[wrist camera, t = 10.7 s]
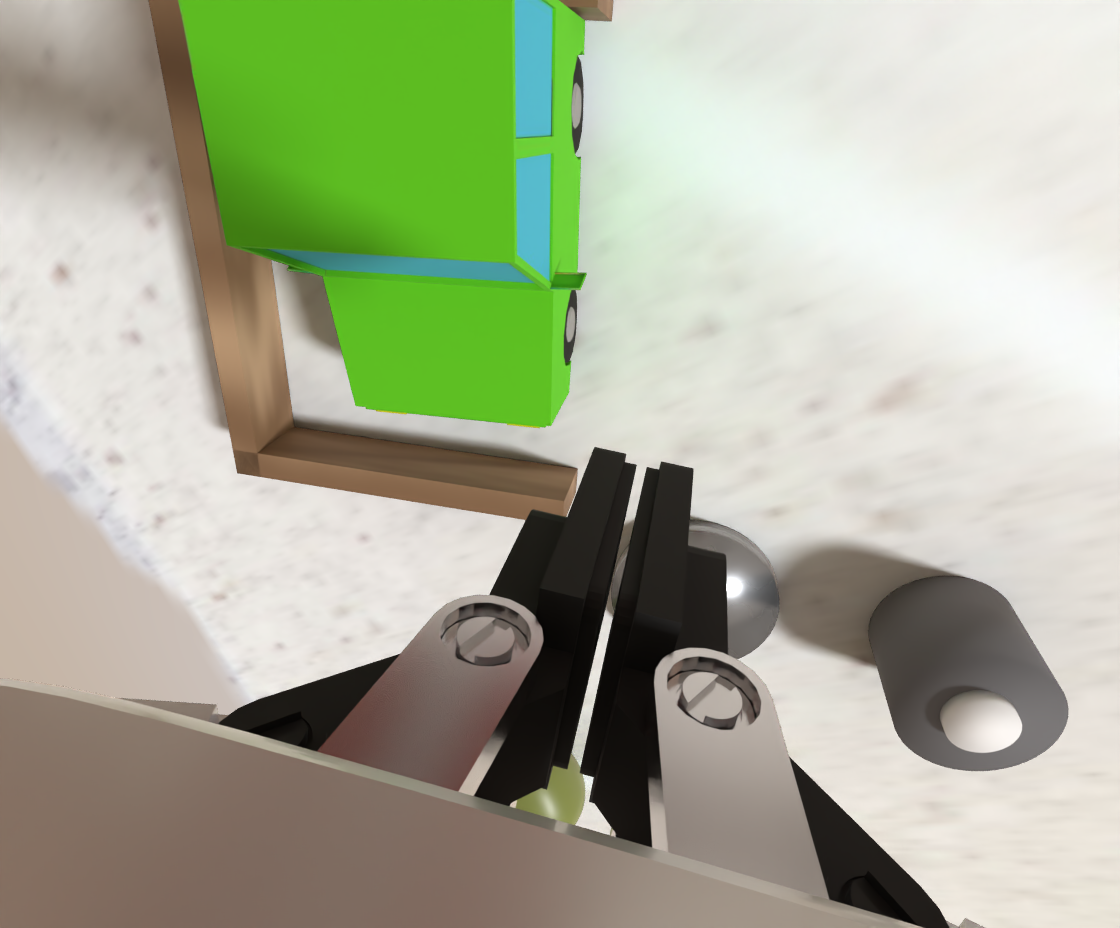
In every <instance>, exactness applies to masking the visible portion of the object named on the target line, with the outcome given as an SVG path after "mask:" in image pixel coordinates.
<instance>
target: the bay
mask: <svg viewBox="0 0 1120 928" xmlns="http://www.w3.org/2000/svg"><path fill="white" fill-rule="evenodd" d="M559 1H560V2H562V3H563V4H564V5H566V6H567V7H568V8H569V9H571V10H572V11H573V12H575V13H576V14H577V15H578V16H580V17H581V18H582V19H584V20H593V21H612V11H613V0H559ZM149 5H150V10H151V16H152V21H153V26H154V32H155V37H156V42H157V48H158V53H159V58H160V64H161V69H162V74H163V80H164V85H165V90H166V96H167V101H168V106H169V112H170V117H171V122H172V128H173V133H174V138H175V144H176V149H177V154H178V160H179V165H180V170H181V176H182V181H183V186H184V192H185V197H186V202H187V208H188V213H189V218H190V224H191V229H192V234H193V240H194V245H195V250H196V256H197V261H198V266H199V272H200V277H201V282H202V288H203V293H204V298H205V304H206V309H207V314H208V320H209V325H210V330H211V336H212V341H213V346H214V352H215V357H216V362H217V368H218V373H219V378H220V384H221V389H222V394H223V400H224V405H225V410H226V416H227V421H228V426H229V432H230V437H231V442H232V448H233V453H234V458H235V464H236V469H237V473H240V474H246V475H252V476H258V477H264V478H270V479H277V480H283V481H289V482H295V483H301V484H308V485H314V486H320V487H326V488H332V489H338V490H345V491H351V492H357V493H363V494H369V495H375V496H382V497H388V498H394V499H400V500H406V501H412V502H419V503H425V504H431V505H437V506H443V507H450V508H456V509H462V510H468V511H474V512H480V513H487V514H493V515H499V516H505V517H511V518H517V519H524V520H526V519H527V517H528V515H529V513H530V512H531V510H533V509H535V510H539V511H543V512H547V513H552V514H556V515H560V516H565V517H566V516H567V513H568V511H569V508H570V505H571V503H572V500H573V498H574V495H575V493H576V483H577V470H578V469H576V468H569V467H562V466H555V465H549V464H542V463H535V462H528V461H521V460H515V459H508V458H501V457H494V456H488V455H481V454H474V453H467V452H460V451H454V450H447V449H440V448H433V447H427V446H420V445H413V444H406V443H400V442H393V441H386V440H379V439H372V438H366V437H359V436H352V435H345V434H339V433H332V432H325V431H318V430H311V429H305V428H298V427H294V422H293V414H292V407H291V400H290V393H289V386H288V378H287V371H286V364H285V357H284V349H283V342H282V335H281V328H280V320H279V313H278V306H277V299H276V292H275V284H274V277H273V270H272V263H271V260H270V259H267V258H264V257H261V256H258V255H255V254H252V253H249V252H246V251H243V250H240V249H237V248H233V247H230V246H227V245H226V240H225V235H224V230H223V225H222V220H221V215H220V209H219V204H218V199H217V194H216V189H215V184H214V179H213V174H212V169H211V164H210V159H209V154H208V149H207V144H206V139H205V134H204V129H203V124H202V118H201V113H200V108H199V103H198V98H197V93H196V88H195V83H194V78H193V73H192V68H191V63H190V58H189V53H188V48H187V43H186V38H185V32H184V27H183V22H182V17H181V12H180V7H179V2H178V0H149Z"/></svg>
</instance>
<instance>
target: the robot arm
mask: <svg viewBox="0 0 1120 928" xmlns="http://www.w3.org/2000/svg"><path fill="white" fill-rule="evenodd" d="M625 458H626V454H624V453H620V452H615V451H611V450H606V449H601V448H597V447H595V448H594V450H593V452H592V455H591V457H590V460H589V463H588V465H587V468H586V470H585V473H584V476H583V478H582V481H581V483H580V486H579V488H578V491H577V494H576V496H575V499H574V501H573V504H572V507H571V509H570V512H569V514H568V517H565V516H560V515H556V514H552V513H547V512H543V511H539V510H535V509H533V510H531V512H530V513H529V515H528V517H527V519H526V521H525V523H524V525H523V527H522V529H521V531H520V533H519V535H518V537H517V539H516V541H515V543H514V545H513V548H512V550H511V552H510V554H509V556H508V558H507V560H506V562H505V564H504V566H503V568H502V570H501V572H500V574H499V576H498V578H497V580H496V582H495V584H494V586H493V588H492V590H491V592H490V595H473V596H468V597H462V598H459V599H457V600H454V601H452V602H450V603H447V604H446V605H444V606H443V607H442V608H441V609H440V610H438V611H437V612H436V613H435V614H434V615H433V616H432V618H431V619H430V620H429V621H428V622H427V623H426V625H425V626H424V627H423V628H422V629H421V630H420V632H419V633H418V634H417V635H416V636H415V637H414V639H413V640H412V641H411V642H410V643H409V644H408V646H407V647H406V648H405V649H404V650H403V651H402V653H401V654H398V655H395V656H392V657H389V658H386V659H383V660H379V661H376V662H373V663H370V664H367V665H364V666H361V667H358V668H355V669H351V670H348V671H345V672H342V673H339V674H336V675H333V676H330V677H327V678H324V679H320V680H317V681H314V682H311V683H308V684H305V685H302V686H299V687H296V688H292V689H289V690H286V691H283V692H280V693H277V694H274V695H271V696H268V697H264V698H261V699H258V700H256V701H254V702H251V703H249V704H247V705H245V706H242V707H240V708H238V709H237V710H235V711H234V712H232V713H231V714H230V715H220V714H218V708H217V705H216V704H201V703H186V702H172V701H156V700H142V699H126V698H114V697H110V696H105V695H101V694H96V693H91V692H87V691H82V690H78V689H73V688H69V687H64V686H57V685H51V684H43V683H37V682H30V681H23V680H16V679H3V678H0V928H985V927H983V926H980V925H978V924H976V923H974V922H972V921H970V920H968V919H966V918H965V919H964V920H963V922H962V923H961V924H960V926H959V927H958V926H956V925H954V924H952V923H950V922H948V921H946V920H945V918H944V916H943V915H942V913H941V911H940V909H939V908H938V907H937V905H936V904H935V903H934V902H933V901H932V899H931V898H930V897H929V896H928V895H927V893H926V892H925V891H924V890H923V889H922V888H921V886H920V885H919V884H918V883H917V882H916V881H915V880H914V879H913V878H912V877H911V876H910V875H909V874H907V873H906V872H905V871H904V870H903V869H902V868H901V867H900V866H899V865H898V864H897V863H896V862H895V861H894V860H893V859H892V858H891V857H890V856H889V855H888V854H887V853H886V852H885V851H884V850H883V849H882V848H881V847H880V846H879V845H878V844H877V843H876V842H875V841H874V840H873V839H872V838H871V837H870V836H869V835H868V834H867V833H866V832H865V831H864V830H863V829H862V828H861V827H860V826H859V825H858V824H857V823H856V822H855V821H854V820H853V819H852V818H851V817H850V816H849V815H848V814H847V813H846V812H845V811H844V810H843V809H842V808H841V807H840V806H839V805H838V804H837V803H836V802H835V801H834V800H833V799H832V798H831V797H830V796H829V795H828V794H826V793H825V792H824V791H823V790H822V789H821V788H820V787H819V786H818V785H817V784H816V783H815V782H814V781H813V780H812V779H811V778H810V777H809V776H808V775H807V774H806V773H805V772H804V771H803V770H802V769H801V768H800V767H799V766H798V765H797V764H796V763H795V762H794V761H793V760H792V759H791V758H790V757H789V755H788V751H787V747H786V744H785V740H784V737H783V733H782V730H781V726H780V723H779V719H778V716H777V712H776V709H775V705H774V701H773V699H772V697H771V694H770V692H769V690H768V688H767V686H766V684H765V683H764V682H763V681H762V680H761V679H760V677H759V676H758V675H757V674H756V673H755V672H754V671H753V670H751V669H750V668H749V667H747V666H746V665H745V664H743V663H742V662H741V661H739V660H737V659H735V658H733V657H731V656H729V655H728V616H727V560H726V555H725V554H724V553H720V552H715V551H711V550H707V549H702V548H698V547H694V546H689V545H688V537H689V524H690V510H691V497H692V483H693V468H688V467H684V466H679V465H675V464H670V463H665V462H661V464H660V468H659V470H658V469H653V468H649V467H647V469H646V473H645V478H644V482H643V486H642V491H641V495H640V500H639V504H638V509H637V513H636V517H635V522H634V526H633V531H632V535H631V539H630V544H629V548H628V553H627V557H626V562H625V566H624V570H623V575H622V579H621V584H620V588H619V593H618V597H617V601H616V606H615V611H614V615H613V620H612V624H611V629H610V634H609V638H608V643H607V648H606V652H605V657H604V662H603V666H602V671H601V675H600V680H599V685H598V689H597V694H596V699H595V703H594V708H593V713H592V717H591V722H590V727H589V731H588V736H587V740H586V745H585V750H584V754H583V759H582V764H581V768H580V773H581V774H584V775H588V776H591V777H594V779H593V784H592V789H591V795H590V800H589V802H592V803H595V805H596V806H597V807H598V809H599V810H600V812H601V813H602V814H603V816H604V817H605V819H606V820H607V822H608V823H609V824H610V826H611V827H612V828H611V831H610V835H607V834H603V833H600V832H596V831H593V830H589V829H586V828H582V827H579V826H576V825H572V824H569V823H565V822H562V821H558V820H555V819H551V818H548V817H544V816H541V815H537V814H534V813H530V812H527V811H523V810H520V809H517V808H515V807H516V803H517V800H518V799H520V798H522V797H524V796H526V795H528V794H530V793H532V792H535V791H537V790H539V789H541V788H542V789H546V790H547V788H548V784H549V780H550V776H551V772H552V769H553V766H556V767H559V768H563V769H566V770H567V769H568V765H569V761H570V757H571V753H572V748H573V744H574V740H575V736H576V731H577V727H578V723H579V719H580V714H581V710H582V706H583V702H584V697H585V693H586V689H587V685H588V680H589V676H590V672H591V668H592V663H593V659H594V655H595V651H596V646H597V642H598V638H599V634H600V629H601V625H602V621H603V617H604V612H605V608H606V604H607V599H608V595H609V590H610V586H611V581H612V576H613V572H614V567H615V563H616V558H617V553H618V549H619V544H620V540H621V535H622V530H623V526H624V521H625V517H626V512H627V507H628V503H629V498H630V494H631V489H632V484H633V480H634V475H635V471H636V466H637V465H635V464H630V463H626V462H625Z"/></svg>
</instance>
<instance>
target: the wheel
mask: <svg viewBox="0 0 1120 928" xmlns="http://www.w3.org/2000/svg"><path fill="white" fill-rule="evenodd" d="M868 634H869V641H870V644H871V648H872V651H873V655H874V658H875V662H876V665H877V669H878V672H879V675H880V679H881V682H882V686H883V689H884V693H885V696H886V700H887V703H888V707H889V710H890V714H891V717H892V721H893V724H894V727H895V730H896V732H897V734H898V736H899V738H900V739H901V740H902V742H903V743H904V744H905V745H906V746H907V747H908V748H909V749H910V750H912V751H913V752H914V753H915V754H917V755H919V756H920V757H922V758H923V759H926V760H928V761H930V762H932V763H935V764H937V765H940V766H944V767H948V768H952V769H958V770H966V771H990V770H998V769H1004V768H1008V767H1012V766H1016V765H1019V764H1021V763H1024V762H1027V761H1029V760H1031V759H1033V758H1035V757H1037V756H1038V755H1040V754H1042V753H1043V752H1045V751H1046V750H1047V749H1048V748H1050V747H1051V746H1052V745H1053V744H1054V743H1055V742H1056V741H1057V740H1058V738H1059V737H1060V735H1061V734H1062V732H1063V730H1064V728H1065V726H1066V723H1067V719H1068V704H1067V700H1066V697H1065V694H1064V692H1063V691H1062V689H1061V687H1060V686H1059V684H1058V683H1057V681H1056V679H1055V678H1054V676H1053V674H1052V673H1051V671H1050V669H1049V668H1048V666H1047V664H1046V663H1045V661H1044V659H1043V658H1042V656H1041V654H1040V653H1039V651H1038V649H1037V648H1036V646H1035V644H1034V643H1033V641H1032V639H1031V638H1030V636H1029V635H1028V633H1027V631H1026V630H1025V628H1024V626H1023V625H1022V623H1021V621H1020V620H1019V618H1018V616H1017V615H1016V613H1015V611H1014V610H1013V608H1012V606H1011V605H1010V603H1009V602H1008V601H1007V599H1006V598H1005V597H1004V596H1003V595H1002V594H1000V593H999V592H998V591H997V590H995V589H994V588H992V587H990V586H988V585H986V584H984V583H982V582H979V581H976V580H973V579H969V578H964V577H957V576H937V577H929V578H924V579H920V580H917V581H913V582H911V583H908V584H906V585H904V586H902V587H900V588H898V589H896V590H895V591H893V592H892V593H890V594H889V595H888V596H887V597H886V598H884V599H883V600H882V601H881V603H880V604H879V605H878V606H877V608H876V609H875V611H874V612H873V615H872V617H871V619H870V623H869V630H868Z"/></svg>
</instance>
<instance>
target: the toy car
mask: <svg viewBox="0 0 1120 928" xmlns="http://www.w3.org/2000/svg"><path fill="white" fill-rule="evenodd" d="M178 2H179V7H180V12H181V17H182V22H183V27H184V32H185V38H186V43H187V48H188V53H189V58H190V63H191V68H192V73H193V78H194V83H195V88H196V93H197V98H198V103H199V108H200V113H201V118H202V124H203V129H204V134H205V139H206V144H207V149H208V154H209V159H210V164H211V169H212V174H213V179H214V184H215V189H216V194H217V199H218V204H219V209H220V215H221V220H222V225H223V230H224V235H225V240H226V245H227V246H230V247H233V248H237V249H240V250H243V251H246V252H249V253H252V254H255V255H258V256H261V257H264V258H267V259H270V260H274V261H277V262H280V263H283V264H286V265H289V267H288V269H287V270H288V271H294V272H303V273H312V274H317V275H320V276H322V277H323V280H324V284H325V288H326V292H327V296H328V300H329V304H330V308H331V312H332V316H333V319H334V323H335V327H336V331H337V335H338V339H339V343H340V347H341V351H342V355H343V358H344V362H345V366H346V370H347V374H348V378H349V382H350V386H351V390H352V394H353V397H354V401H355V405H356V406H362V407H366V409H371V410H376V411H379V412H389V413H399V414H407V413H410V414H420V415H429V416H439V417H449V418H458V419H468V420H478V421H487V422H497V423H507V425H514V426H524V427H533V428H540V427H546V426H551V425H552V423H553V421H554V419H555V417H556V415H557V414H558V412H559V410H560V408H561V406H562V404H563V402H564V401H565V399H566V397H567V395H568V393H569V385H570V370H571V361H569V360H570V358H571V355H572V352H573V347H574V341H575V335H576V322H577V296H576V291H575V290H581V287H582V285H583V282H584V280H585V277H586V275H587V273H577V268H578V235H579V202H580V169H581V157H576V155H575V153H576V152H577V150H578V148H579V143H580V138H581V132H582V121H583V76H582V68H581V62H580V60H579V57H578V55H584V36H585V20H584V19H582V18H581V17H580V16H578V15H577V14H576V13H575V12H573V11H572V10H571V9H569V8H568V7H567V6H566V5H564V4H563V3H562V2H560V1H559V0H178Z"/></svg>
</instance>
